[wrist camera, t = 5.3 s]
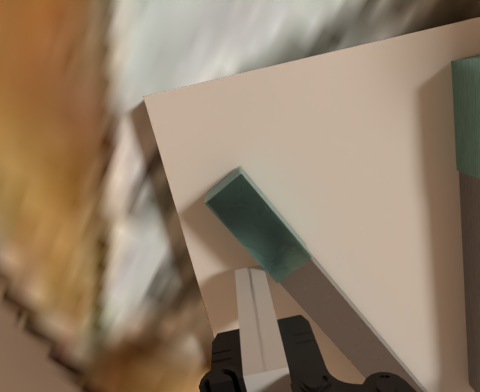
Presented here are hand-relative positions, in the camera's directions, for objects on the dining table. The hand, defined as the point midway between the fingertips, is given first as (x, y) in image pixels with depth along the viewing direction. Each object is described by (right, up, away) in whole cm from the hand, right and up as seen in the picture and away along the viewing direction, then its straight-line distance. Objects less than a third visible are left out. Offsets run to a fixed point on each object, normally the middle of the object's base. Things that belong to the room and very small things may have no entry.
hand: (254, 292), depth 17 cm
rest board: (+6, 0, +3) cm, 7 cm away
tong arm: (+4, -1, +2) cm, 5 cm away
